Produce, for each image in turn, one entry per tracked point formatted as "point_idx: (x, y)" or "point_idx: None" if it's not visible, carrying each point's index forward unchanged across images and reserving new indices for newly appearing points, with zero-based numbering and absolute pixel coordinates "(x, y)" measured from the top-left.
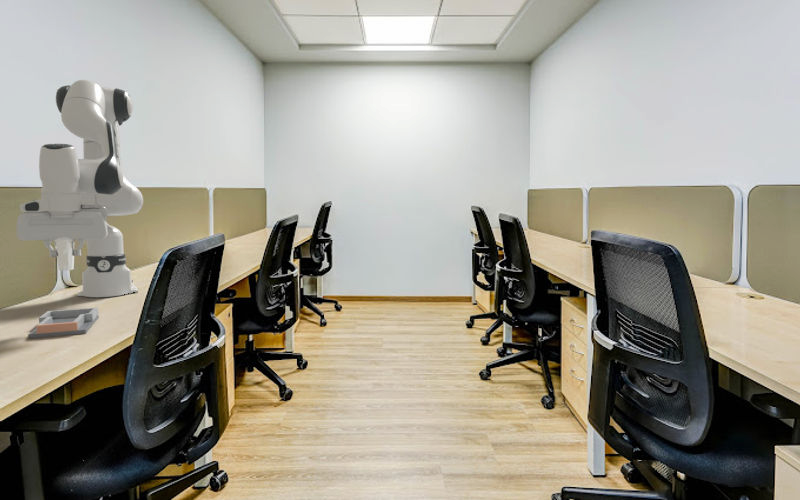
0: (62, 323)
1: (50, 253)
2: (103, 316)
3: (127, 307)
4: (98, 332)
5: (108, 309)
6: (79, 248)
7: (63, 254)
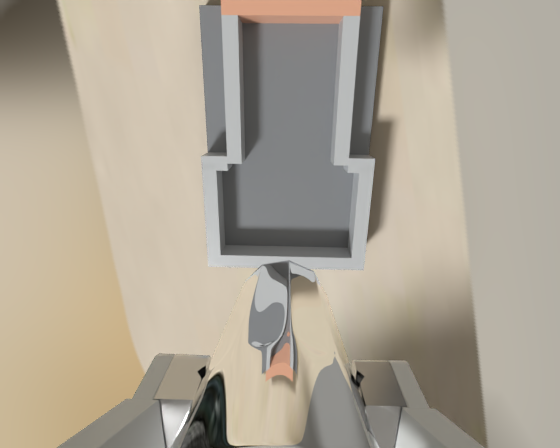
0: (271, 1)
1: (408, 378)
2: (205, 263)
3: None
4: (163, 9)
5: None
6: (125, 405)
7: (282, 322)
